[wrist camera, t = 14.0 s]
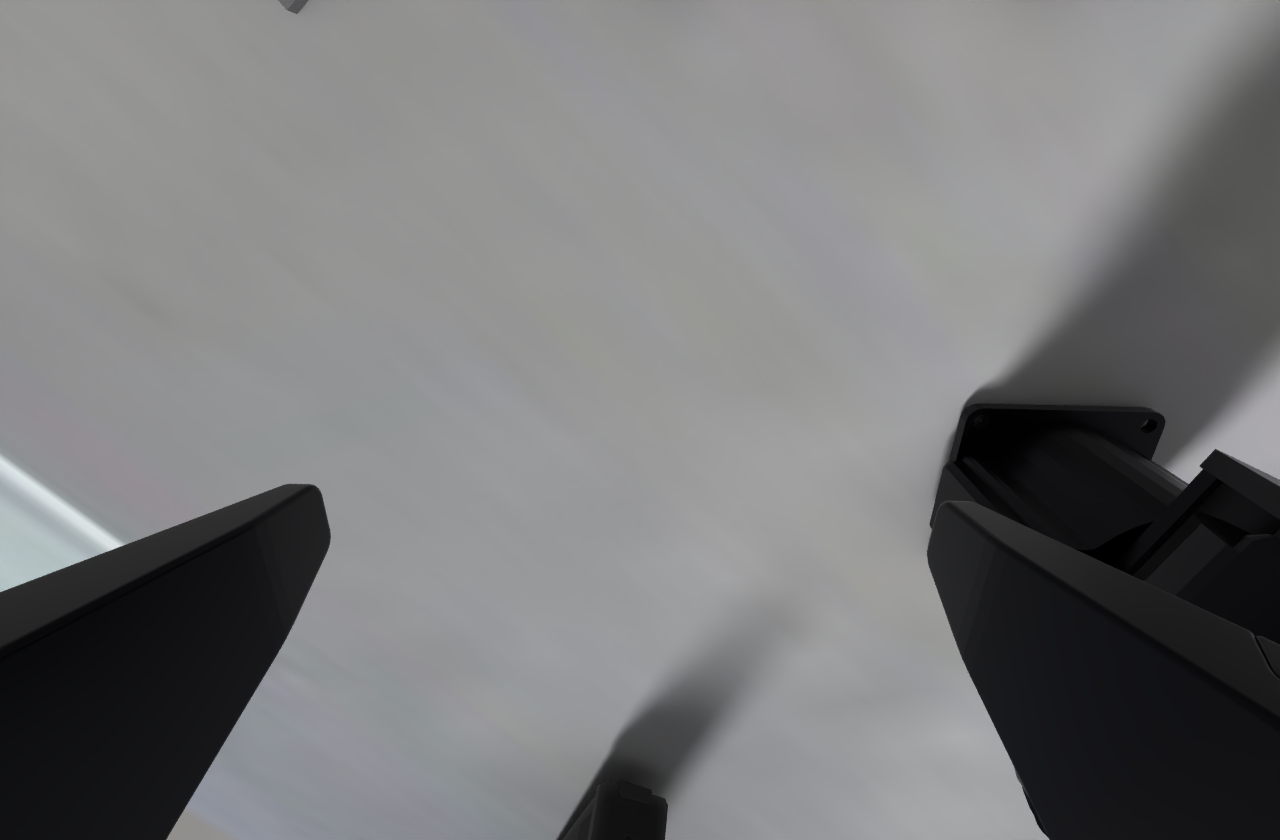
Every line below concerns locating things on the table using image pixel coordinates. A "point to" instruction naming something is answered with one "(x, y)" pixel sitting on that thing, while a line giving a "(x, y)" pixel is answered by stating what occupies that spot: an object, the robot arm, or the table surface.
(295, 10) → the mat
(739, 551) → the table surface
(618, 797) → the magazine
